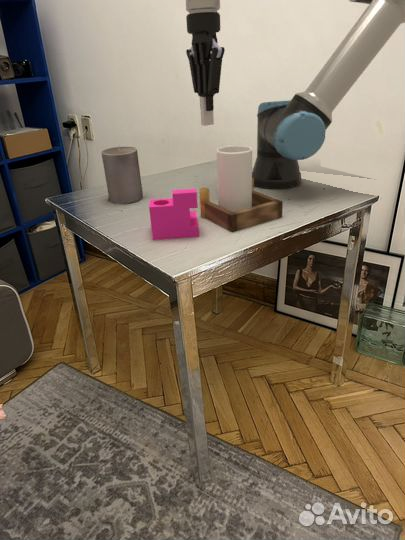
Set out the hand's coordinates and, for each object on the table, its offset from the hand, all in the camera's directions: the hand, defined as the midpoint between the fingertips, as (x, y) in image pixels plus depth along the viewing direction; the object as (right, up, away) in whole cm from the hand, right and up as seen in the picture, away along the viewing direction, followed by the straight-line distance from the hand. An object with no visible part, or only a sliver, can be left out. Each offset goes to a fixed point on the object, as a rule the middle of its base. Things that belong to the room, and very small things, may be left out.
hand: (207, 124), depth 100 cm
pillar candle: (-23, -16, +16) cm, 32 cm away
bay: (+8, -23, -1) cm, 24 cm away
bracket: (-8, -27, -6) cm, 28 cm away
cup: (+7, -22, +1) cm, 23 cm away
